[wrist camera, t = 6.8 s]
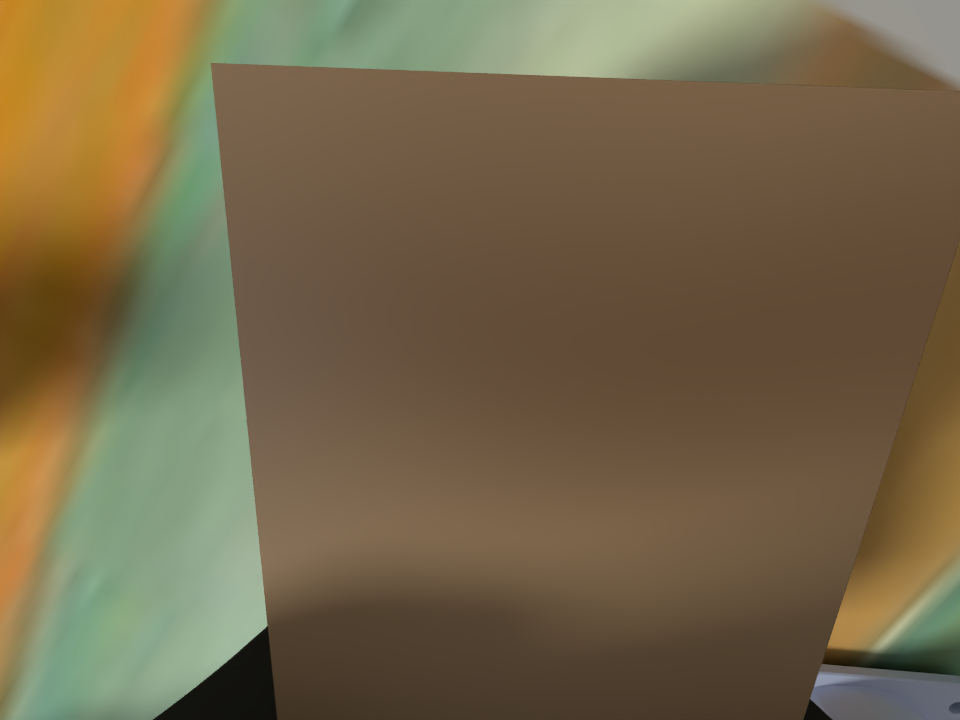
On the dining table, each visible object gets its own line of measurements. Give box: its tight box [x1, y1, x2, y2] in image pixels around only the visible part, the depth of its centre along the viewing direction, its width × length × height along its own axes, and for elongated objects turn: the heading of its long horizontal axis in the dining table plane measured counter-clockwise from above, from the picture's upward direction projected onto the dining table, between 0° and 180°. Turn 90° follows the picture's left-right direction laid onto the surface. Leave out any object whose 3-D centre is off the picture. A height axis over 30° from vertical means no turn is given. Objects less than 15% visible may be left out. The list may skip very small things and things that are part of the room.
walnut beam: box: [211, 63, 960, 720], centre depth 8 cm, size 16×5×6 cm, turn 177°
